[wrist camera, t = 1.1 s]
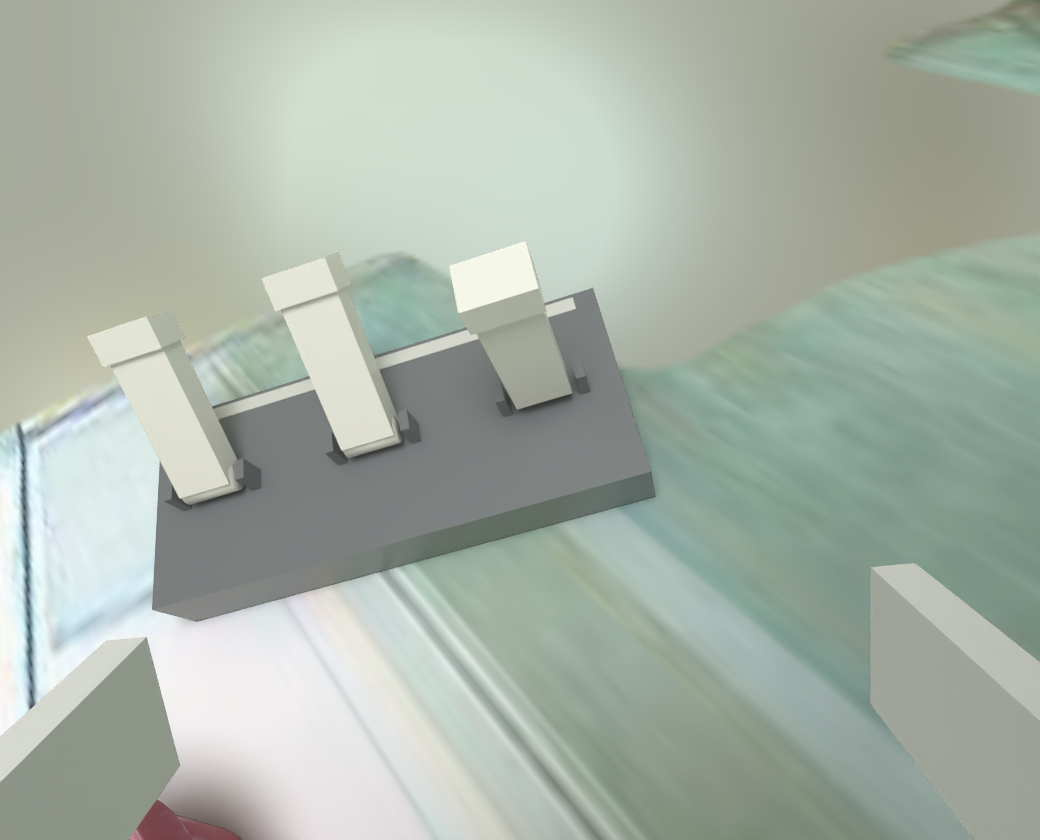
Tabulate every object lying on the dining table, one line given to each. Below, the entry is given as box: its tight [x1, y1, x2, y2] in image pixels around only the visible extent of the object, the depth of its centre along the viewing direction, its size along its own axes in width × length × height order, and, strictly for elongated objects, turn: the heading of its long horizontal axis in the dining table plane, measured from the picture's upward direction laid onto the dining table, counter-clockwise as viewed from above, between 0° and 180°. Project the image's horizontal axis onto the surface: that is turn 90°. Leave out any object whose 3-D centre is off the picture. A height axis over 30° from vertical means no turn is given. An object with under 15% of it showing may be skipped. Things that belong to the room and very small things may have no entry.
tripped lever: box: [449, 241, 572, 409], centre depth 39 cm, size 3×4×12 cm
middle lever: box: [262, 252, 403, 458], centre depth 43 cm, size 3×4×12 cm
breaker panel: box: [152, 288, 655, 621], centre depth 47 cm, size 14×33×7 cm, turn 102°
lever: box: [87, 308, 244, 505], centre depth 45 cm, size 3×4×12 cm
